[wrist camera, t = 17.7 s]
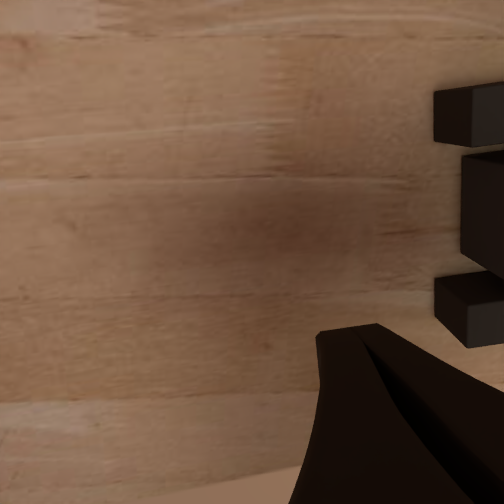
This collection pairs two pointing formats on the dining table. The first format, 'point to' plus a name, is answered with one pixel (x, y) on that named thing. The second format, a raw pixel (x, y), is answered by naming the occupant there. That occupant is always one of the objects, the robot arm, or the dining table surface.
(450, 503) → the robot arm
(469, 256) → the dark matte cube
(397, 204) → the dining table surface
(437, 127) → the black u-shaped block
